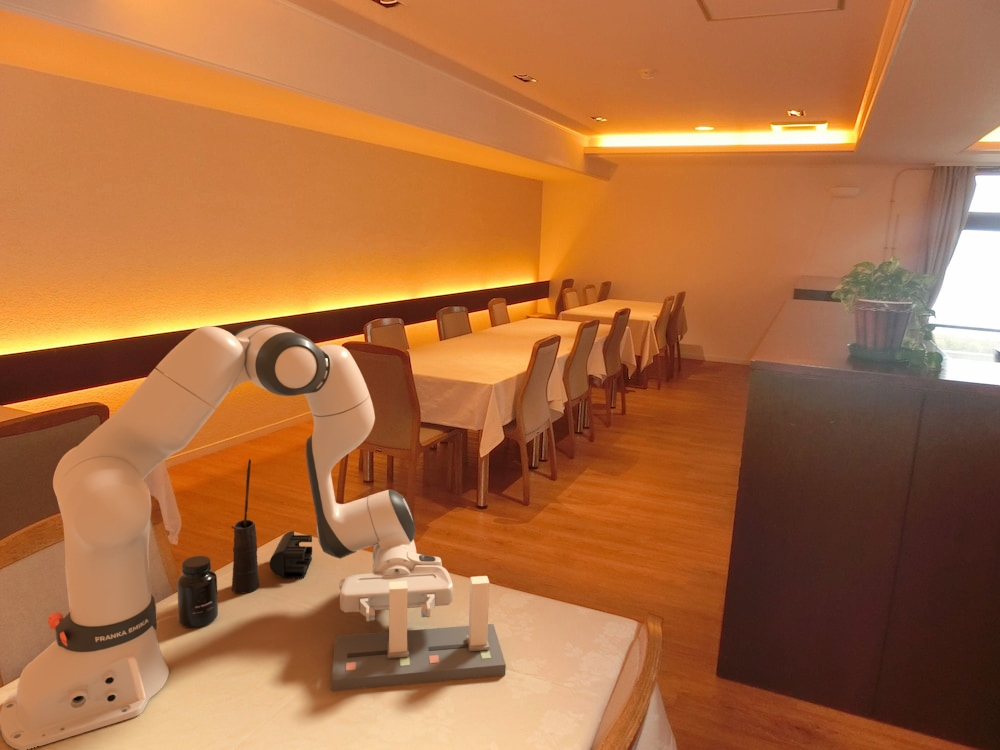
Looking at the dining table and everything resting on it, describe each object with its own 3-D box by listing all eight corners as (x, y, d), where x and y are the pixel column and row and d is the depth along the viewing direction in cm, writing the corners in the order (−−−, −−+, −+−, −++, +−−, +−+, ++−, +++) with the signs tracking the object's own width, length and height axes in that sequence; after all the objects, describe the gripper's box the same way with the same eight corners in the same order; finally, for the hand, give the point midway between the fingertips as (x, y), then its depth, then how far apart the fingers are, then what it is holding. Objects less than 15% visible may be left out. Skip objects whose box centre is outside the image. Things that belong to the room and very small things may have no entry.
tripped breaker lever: (387, 658, 110) (387, 592, 107) (387, 643, 114) (387, 579, 111) (408, 656, 111) (409, 590, 108) (407, 642, 115) (408, 578, 112)
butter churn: (226, 608, 127) (219, 474, 121) (210, 587, 134) (202, 460, 128) (272, 592, 133) (267, 464, 127) (254, 574, 140) (249, 451, 134)
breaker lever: (469, 651, 113) (471, 586, 110) (466, 637, 117) (468, 574, 114) (489, 649, 113) (492, 585, 111) (485, 635, 117) (488, 573, 115)
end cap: (281, 557, 147) (280, 530, 146) (312, 557, 148) (312, 530, 146) (269, 580, 137) (268, 551, 136) (303, 580, 138) (302, 551, 137)
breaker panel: (331, 690, 105) (331, 679, 104) (335, 645, 116) (335, 635, 116) (505, 674, 110) (505, 664, 110) (493, 633, 122) (493, 623, 122)
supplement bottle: (203, 631, 119) (199, 572, 116) (171, 626, 120) (166, 567, 118) (226, 611, 126) (223, 555, 123) (195, 606, 127) (191, 550, 124)
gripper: (340, 562, 121) (335, 603, 107) (448, 556, 125) (457, 595, 111) (340, 593, 122) (336, 637, 109) (447, 586, 126) (456, 627, 113)
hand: (398, 615), depth 110 cm, fingers open, 8 cm apart
